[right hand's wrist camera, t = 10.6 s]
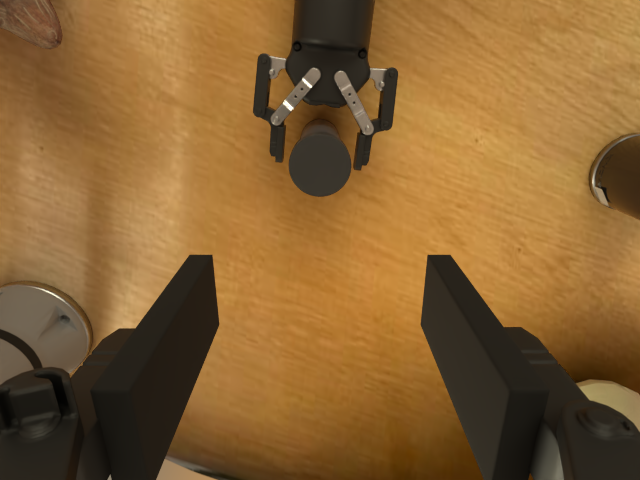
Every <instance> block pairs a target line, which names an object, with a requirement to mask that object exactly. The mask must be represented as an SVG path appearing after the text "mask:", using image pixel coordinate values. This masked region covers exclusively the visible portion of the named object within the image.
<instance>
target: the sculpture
mask: <svg viewBox="0 0 640 480" xmlns="http://www.w3.org/2000/svg"><path fill="white" fill-rule="evenodd" d="M59 23H60V22H59V19H58V17H57V14H56V12H55V10H54V8H53V6H52V4H51V2H50V0H0V28H3V29H6V30H8V31H10V32H12V33H14V34H15V35H17V36H19V37H20V38H22V39H24V40H26V41H28V42H30V43H32V44H34V45H36V46H38V47H42V48H45V49H52V48H56V47H58V46H59V45H60V43H61V40H62V31H61V26H60V24H59Z"/></svg>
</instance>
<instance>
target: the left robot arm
mask: <svg viewBox="0 0 640 480" xmlns="http://www.w3.org/2000/svg"><path fill="white" fill-rule="evenodd" d="M374 3H375V0H295V7H294V21H293V35H292V47H291V52H290V54H289V56H288V57H287V59H285V58H279V57H273V56H270V55H268V54H261V55H259V57H258V63H257V74H256V85H255V96H254V107H253V113H254V115H255V116H256V117H260V118H262V119H264V120H266V121H268V122H269V123H270V125H271V138H270V154H271V156H276V162H279V163H282V162H283V158H284V145H285V131H286V125H284V119H285V118H286V117H287V116H288V115H289V114H290V112H291V111H292V110H293V109H294V108H295V107H296V105H297V104H298V103H299V102H300V101H301V100H303V101H305V102H306V103H308V104H309V105H322V104H325V105H328V106H330V107H335V108H340V107H343V106H345V105H346V104H347V105H348V107H349V109H350V111H351V113H352V114H353V116H354V118H355V120H356V122H357V124H358V125H359V127H360V133H357V141H356V149H355V156H354V164H353V168H354V170H361V168H362V165H367V163H368V161H369V155H370V148H371V141H372V137H373V135H374V134H375V133H377V132H380V131H384V130H389V129H390V128H391V127H392V123H393V114H394V105H395V96H396V87H397V78H398V71H397V70H396V69H395V68H386V69H377V68H370V66H369V64H368V49H369V41H370V34H371V26H372V18H373V11H374ZM282 69H286V72H287V74H288V75H289V77H290V79H291V81H292V82H293V84H294V86H295V88H294V89H293V91H292V92H291V93H290V94H289V95H288V97H287V98H286V99H285V100H284V101H283V103H282V104H281V105H280V106H279V107H278V109H277V110H274V109H272V108H270V107H268V104H269V94H270V85H271V79H275V78H277V77H278V75H279V72H280V71H281V70H282ZM369 78H371V79H372V80H373V81H374V86H375V88H376V89H377V90H379V91H381V92H380V102H379V112H378V118H376V119H372V120H370V119H369V117H368V115H367V113H366V111H365V109H364V107H363V105H362V103H361V101H360V100H359V98H358V96H357V94H356V93H357V92H358V91H359V90H360V89H361V88H362V87H363V85H364V84H365V83H366V82H367V81H368V80H369ZM296 95H297V96H296ZM589 184H590V189H591V192H592V194H593V196H594V197H595V198H596V200H597V201H598V202H600V203H601V204H603V205H605V206H607V207H609V208H612V209H615V210H618V211H620V212H623V213H625V214H627V215H629V216H631V217H634V218H636V219H638V220H640V133H634V134H628V135H625V136H622V137H620V138H618V139H616V140H614V141H612V142H611V143H610V144H608V145H607V146H606V147H605V148H604V149H603V150H602V151H601V152H600V153H599V155H598V156H597V157H596V159H595V161H594V163H593V165H592V168H591V171H590V176H589Z"/></svg>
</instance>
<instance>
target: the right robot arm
mask: <svg viewBox="0 0 640 480" xmlns="http://www.w3.org/2000/svg"><path fill="white" fill-rule="evenodd" d="M218 327H219V317H218V307H217V297H216V287H215V277H214V267H213V257H212V255H189V257H188V258H187V259H186V261H185V262H184V263H183V265H182V266H181V267H180V269H179V270H178V272H177V273H176V274H175V276H174V277H173V278H172V280H171V281H170V282H169V284H168V285H167V286H166V288H165V289H164V291H163V292H162V293H161V295H160V296H159V297H158V299H157V300H156V301H155V303H154V304H153V305H152V307H151V308H150V310H149V311H148V312H147V314H146V315H145V316H144V318H143V319H142V320H141V322H140V323H139V324H138V326H137V327H136V329H118V330H116V331H115V332H113V333H112V334H110V335H109V336H107V337H106V338H104V339H103V340H102V341H101V342H100V343H99V344H98V346H97V347H96V348H95V349H94V350H93V352H92V355H89V356H88V358H87V359H86V360H85V361H84V362H83V366H80V367H79V368H78V370H77V371H76V372H75V373H74V374H73V376H72V377H71V378H70V376H69V373H70V372H72V371H73V370H74V369H76V368H77V367H78V366H79V365H80V363H81V362H82V361H83V360H84V359H85V358H86V356H87V355H88V353H89V351H90V348H91V345H92V329H91V325H90V323H89V320H88V318H87V316H86V314H85V313H84V311H83V310H82V309H81V307H80V306H79V305H78V304H77V303H76V302H75V301H74V300H73V299H72V298H70V297H69V296H68V295H66V294H65V293H63V292H62V291H60V290H58V289H56V288H54V287H52V286H49V285H46V284H43V283H38V282H32V281H18V282H12V283H9V284H6V285H4V286H1V287H0V480H107V479H108V477H109V475H110V474H111V478H112V480H156V478H157V476H158V473H159V471H160V469H161V466H162V464H163V461H164V459H165V456H166V454H167V451H168V449H169V446H170V444H171V442H172V439H173V437H174V434H175V432H176V429H177V427H178V424H179V422H180V420H181V417H182V415H183V412H184V410H185V407H186V405H187V402H188V400H189V398H190V395H191V393H192V390H193V388H194V385H195V383H196V380H197V378H198V376H199V373H200V371H201V368H202V366H203V363H204V361H205V358H206V356H207V354H208V351H209V349H210V346H211V344H212V341H213V339H214V336H215V334H216V331H217V329H218ZM421 327H422V329H423V331H424V334H425V336H426V339H427V341H428V344H429V346H430V349H431V351H432V354H433V356H434V358H435V361H436V363H437V366H438V368H439V371H440V373H441V376H442V378H443V380H444V383H445V385H446V388H447V390H448V393H449V395H450V398H451V400H452V402H453V405H454V407H455V410H456V412H457V415H458V417H459V420H460V422H461V424H462V427H463V429H464V432H465V434H466V437H467V439H468V442H469V444H470V446H471V449H472V451H473V454H474V456H475V459H476V461H477V464H478V466H479V469H480V471H481V473H482V476H483V478H484V480H528V478H529V474H530V473H531V475H532V477H533V479H534V480H640V432H639V430H638V429H637V427H636V426H635V424H634V423H633V422H632V421H631V420H629V419H628V418H627V417H626V416H625V415H623V414H622V413H620V412H619V411H617V410H615V409H613V408H611V407H609V406H607V405H604V404H601V403H598V402H595V401H590V400H589V399H588V398H587V396H586V395H585V394H584V393H583V392H582V390H581V389H580V388H579V387H578V386H577V384H576V383H575V382H574V381H573V380H572V378H571V377H570V376H569V375H568V374H567V373H566V371H565V370H564V369H563V368H562V367H561V365H560V364H558V363H557V361H556V359H555V358H554V357H553V356H552V355H551V354H549V352H548V350H547V349H546V347H545V346H544V345H543V344H542V343H541V341H540V340H539V339H538V338H537V337H535V336H534V335H532V334H531V333H529V332H528V331H526V330H524V329H523V328H521V327H503V326H502V324H501V323H500V322H499V320H498V319H497V318H496V316H495V315H494V314H493V312H492V311H491V310H490V308H489V307H488V305H487V304H486V303H485V301H484V300H483V299H482V297H481V296H480V295H479V293H478V292H477V291H476V289H475V288H474V286H473V285H472V284H471V282H470V281H469V280H468V278H467V277H466V276H465V274H464V273H463V272H462V270H461V269H460V267H459V266H458V265H457V263H456V262H455V261H454V259H453V258H452V257H451V255H428V257H427V267H426V277H425V287H424V297H423V307H422V317H421Z"/></svg>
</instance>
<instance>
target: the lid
mask: <svg viewBox="0 0 640 480" xmlns="http://www.w3.org/2000/svg"><path fill="white" fill-rule="evenodd" d="M289 172H290V175H291V178H292V180H293V182H294V183H295V185H296V186H297V187H298V188H299V189H300V190H302V191H303V192H305V193H307V194H309V195H312V196H318V197H321V196H328V195H331V194H333V193H335V192H337V191H338V190H340V189H341V188H342V187H343V186H344V185H345V183H346V182H347V180H348V178H349V176H350V172H351V159H350V155H349V153H348V150H347V148H346V146H345V145H344V143H343V142H342V141H341V140H340V139H339V138H338V137H336V136H335V135H333V134H330V133H327V132H313V133H310V134H307V135H305V136H304V137H302V138H301V139H300V140H299V141H298V142H297V143H296V145H295V146H294V148H293V150H292V153H291V156H290V159H289Z"/></svg>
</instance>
